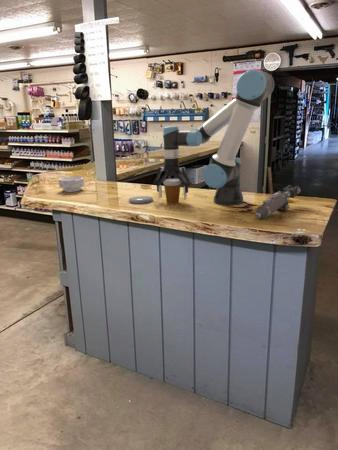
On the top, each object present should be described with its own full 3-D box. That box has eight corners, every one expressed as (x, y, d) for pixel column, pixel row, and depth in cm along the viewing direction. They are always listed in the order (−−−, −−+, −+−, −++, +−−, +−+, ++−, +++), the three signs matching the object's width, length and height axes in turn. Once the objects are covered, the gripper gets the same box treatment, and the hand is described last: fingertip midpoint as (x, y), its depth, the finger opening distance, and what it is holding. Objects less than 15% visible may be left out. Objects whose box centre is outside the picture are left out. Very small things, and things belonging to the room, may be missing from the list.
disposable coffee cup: (180, 205, 189) (179, 181, 185) (162, 204, 191) (161, 181, 187) (183, 200, 198) (182, 178, 194) (165, 200, 200) (165, 178, 196)
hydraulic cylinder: (301, 200, 181) (301, 181, 177) (264, 230, 158) (263, 208, 154) (287, 198, 186) (287, 179, 182) (249, 227, 163) (248, 206, 159)
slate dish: (156, 198, 203) (156, 196, 203) (147, 204, 192) (147, 202, 191) (134, 197, 208) (134, 195, 207) (124, 203, 196) (124, 201, 195)
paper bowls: (87, 188, 238) (86, 175, 236) (80, 193, 224) (78, 180, 221) (65, 188, 240) (63, 176, 237) (56, 193, 225) (54, 180, 223)
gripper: (197, 157, 187) (197, 197, 193) (151, 156, 195) (153, 195, 201) (193, 158, 180) (193, 201, 186) (146, 158, 188) (147, 198, 194)
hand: (172, 198), depth 194 cm, fingers open, 13 cm apart
